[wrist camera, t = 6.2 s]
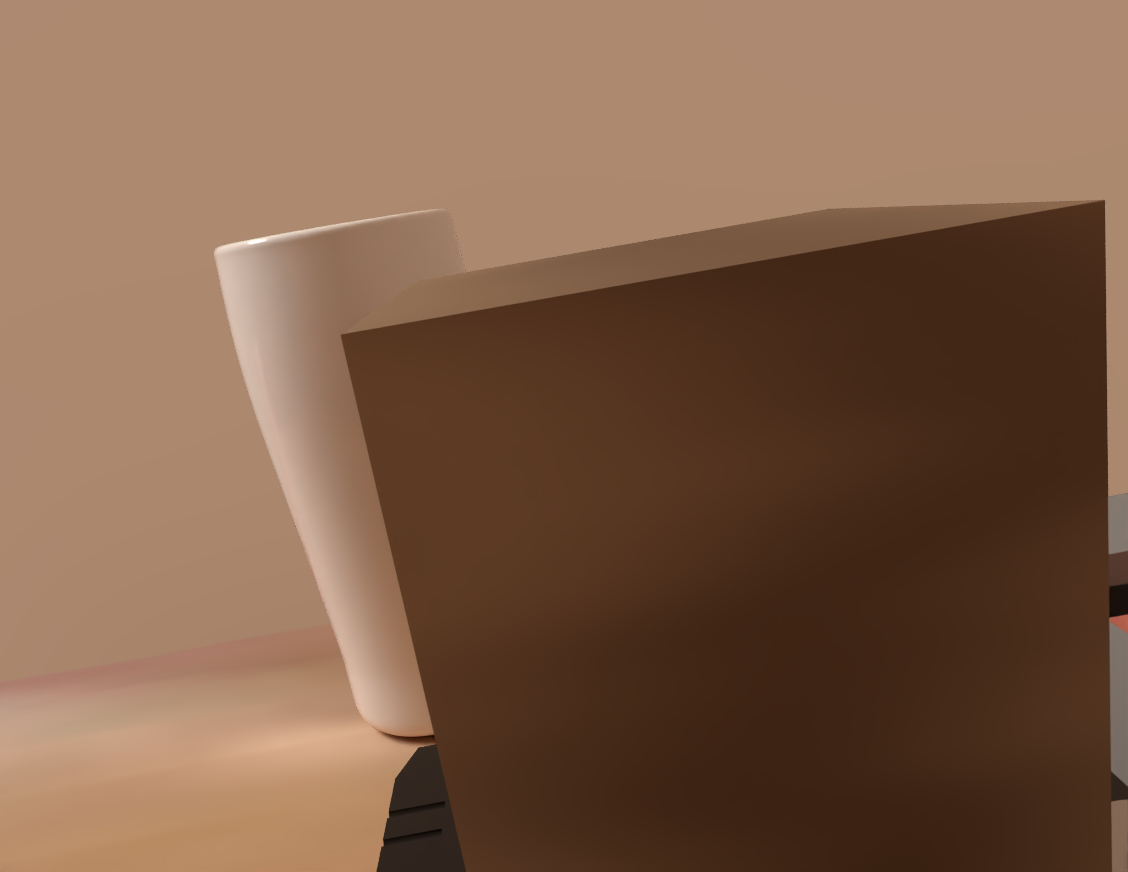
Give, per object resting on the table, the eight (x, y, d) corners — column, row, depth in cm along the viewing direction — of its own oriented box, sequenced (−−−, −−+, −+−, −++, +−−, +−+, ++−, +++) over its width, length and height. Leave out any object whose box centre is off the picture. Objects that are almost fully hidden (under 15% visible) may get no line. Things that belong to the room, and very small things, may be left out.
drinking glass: (553, 633, 31) (472, 205, 27) (532, 749, 25) (422, 208, 21) (372, 654, 32) (269, 241, 28) (305, 772, 25) (159, 255, 22)
